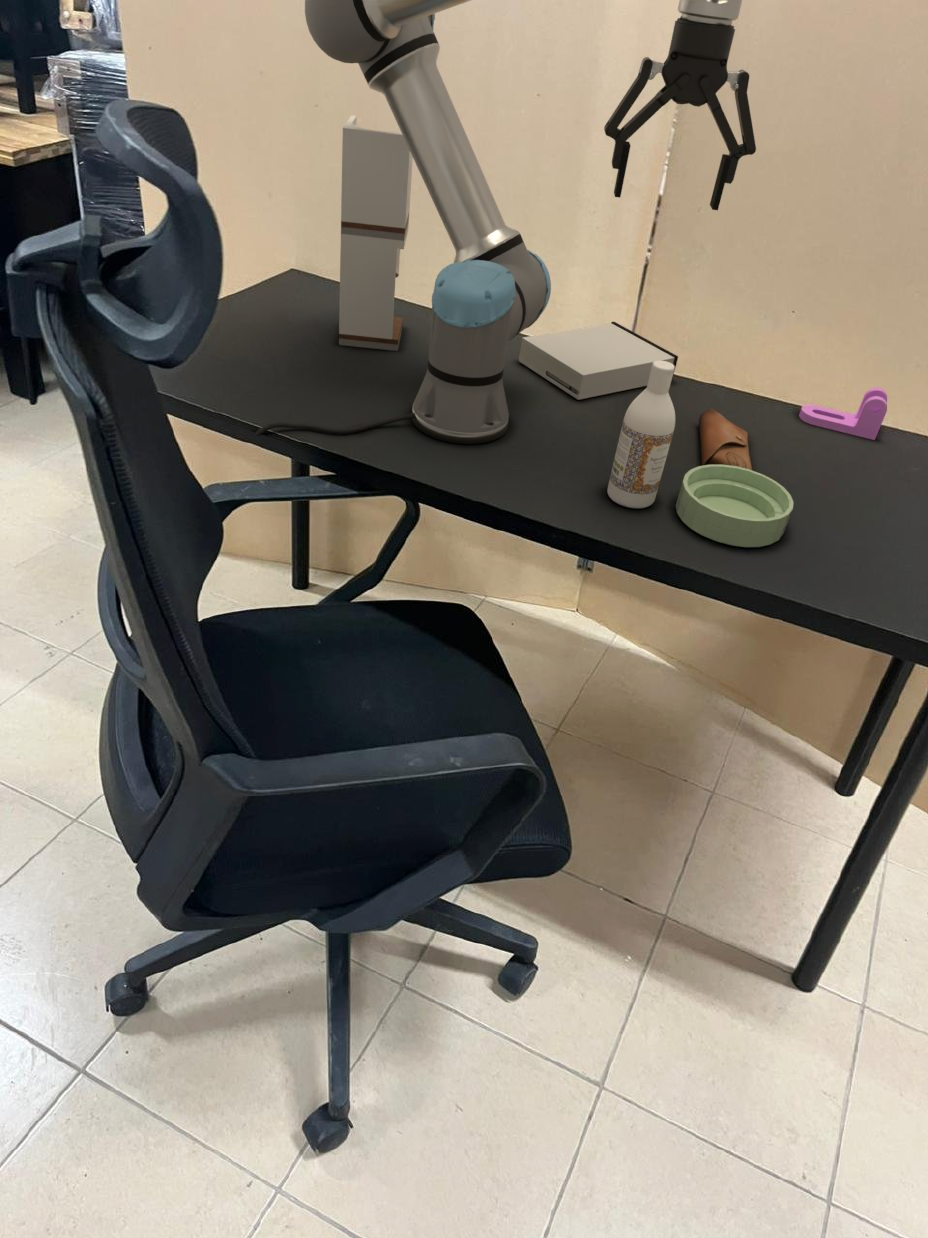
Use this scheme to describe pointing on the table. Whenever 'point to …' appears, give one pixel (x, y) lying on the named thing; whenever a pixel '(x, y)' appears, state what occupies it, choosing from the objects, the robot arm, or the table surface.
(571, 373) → the disc drive
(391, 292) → the tall white banded column
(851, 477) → the table surface
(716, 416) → the sunglasses case
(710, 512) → the dish
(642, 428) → the bath foam
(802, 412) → the bracket
